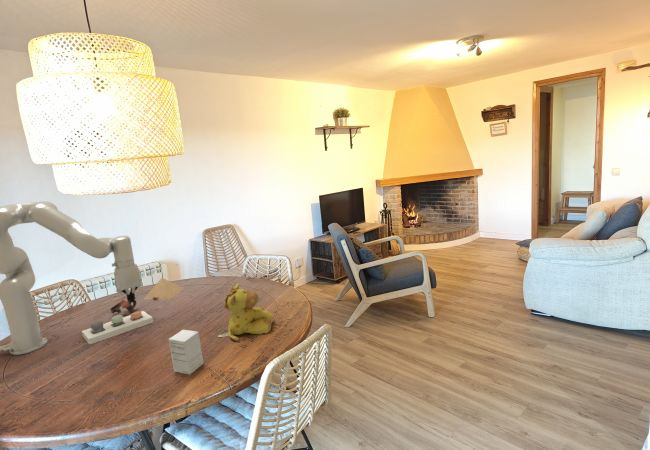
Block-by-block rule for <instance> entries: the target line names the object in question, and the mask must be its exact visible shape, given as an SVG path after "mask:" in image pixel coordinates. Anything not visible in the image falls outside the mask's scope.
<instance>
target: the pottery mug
mask: <svg viewBox="0 0 650 450" xmlns="http://www.w3.org/2000/svg"><path fill="white" fill-rule="evenodd" d="M134 301H135V302H132V303H133V304H132V303H130V302H129V301H128V300H126V301H125V300H124V299H122V300H121V301H119V302H118V303H116V304H115V305H113V306H112V307H111V308H110V311H111V312H110V313H111V314H115V313H118V314H119V313H121V312H122V310H121V309H120V307H121V308H122V309H125V310H126V312H125V313H124V315H125V317H126V316H129V315H131V314H132V313H134V312H135V310H134V309H135V307H136V306H137V300H136V298H135V299H134Z"/></svg>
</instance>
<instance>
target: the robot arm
mask: <svg viewBox="0 0 650 450" xmlns="http://www.w3.org/2000/svg"><path fill="white" fill-rule="evenodd" d="M30 223H31V224H32V223H35V224H37V225H39V226H41V227H43V228H44V229H47V230H49V231H50V232H52V233H54V234H56V235H57V236H60V237H62V238H63V239H64V240H65V241H66V242H68V243H69V244H71V245H72V246H74V247H75V248H76V249H77V250H80V251H82V252H83V253H84V254H86V255H88V256H91V257H92V258H94V259H105V258H107V257H108V256H109V255H110V253H113V258H114V263H111V267H115V268H114V271H113V273H114V284H115V288H116V291H115V292H116V293H119V294H120V293H123V294H124V295H125V294H126V301H129V302H130V303H131V304H132V303H133V302H135V301H134V299H135V300H136V296H135V295H136V294H135V293H136V291H137V290H138V289H139V288H141V287H142V286H143V281H142V277H141V272H140V269H139V266H138V264H137V263H135V259H134V252H133V247H132V240H131V237H130V236H128V235H119V236H115V237H100V238H97V237H95V236H93V235H92V234H90V233H89V232H88V231H86V229H84V227H82V225H81V224H80V222H78V221H77V220H76V219H74V218H73V217H71V216H69V215H67V214H66V213H63V212H62V211H61V210H59V209H58V207H57V205H56V204H54V203H53V202H50V201H38V202H37V201H36V202H29V203H28V202H25V203H14V204H7V205H4V206H0V275H5V278H4V279H3V280H2V281H1V282H0V302H1V305H2V307H3V310H4V311H3V312H4V313H5V317H6V321H7V325H8V330H9V333H10V338H11V339H10V342H8V344H4V345H0V352H2V351H3V352H6V351H7V352H8V351H9V353H10V354H11V355H14V356H17V355H18V356H19V355H23V354H24V355H26V354H29V353H31V352H34V351H36V350H39V349H41V348H43V347H44V346H46V345H47V344H48V341H49V340H48V338H46V337H43V336H42V331H41V329H40V328H41V327H40V323H39V319H38V314H37V310H36V306H35V302H34V300H33V298H32V295H31V293H30V291H31V290H32V288H33V287H34V285H35V284H36V276H35V273H34V270H33V266H32V263H31V262H30V261H31V260H30V257H29V256H28V254H27V253H26V251H25V250H24V249H22V248H21V247H18V246H15V244H14V242H13V238H12V236H11V235H10V233H9V229H10V228H12V227H14V226H17V225H22V224H30Z"/></svg>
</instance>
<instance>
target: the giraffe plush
mask: <svg viewBox="0 0 650 450" xmlns="http://www.w3.org/2000/svg"><path fill="white" fill-rule="evenodd" d="M239 286H240V284H239V283H236V285H235V286H231V287H230V291H229V292H228V294H226V295H225V298H224V308H225V309H226V310H228V311H231V312H232V314H231V315H230V318H229V320H228V328H227V330H228V332H227V333H223V334H219V335H218V336H217V337H218V338H224V337H230V338H231V339H232V340H233V341H234V342H239V341H240V337H238V336H240V335H243V334H246V333H248V334H250V335H251V334H252V335H262V333H265V334H268V333H270V332H271V330H272V324H273V322H274V315H273V314H272V312H271V311H270V310H268V309H265V308H264V307H261V306H260V307H259V306H257V307H255V306H256V305H257V304H258V302H259V295H258V293H257V292H255V291H253V290H252V289H248V290H246V289H244V288H240V287H239Z"/></svg>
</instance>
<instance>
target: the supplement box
mask: <svg viewBox="0 0 650 450" xmlns="http://www.w3.org/2000/svg"><path fill="white" fill-rule="evenodd" d="M168 344H169V350H170V355H171V356H170V357H171V362H172V367H173V371H174V372H175V373H178V374H185V375H188V376H189V375H192V374H193V373H194V372H195V371H196V370H197V369H199V368H200V367H202V365H203V364H204V357H203V353H202V345H201V340H200V333H199V331H195V330H187V329H181V330H180V331H179V332H177V333H176V334H174V335H173V336H171V337H169V338H168Z"/></svg>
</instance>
